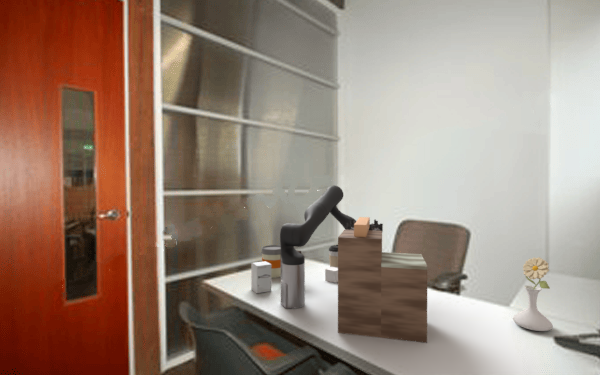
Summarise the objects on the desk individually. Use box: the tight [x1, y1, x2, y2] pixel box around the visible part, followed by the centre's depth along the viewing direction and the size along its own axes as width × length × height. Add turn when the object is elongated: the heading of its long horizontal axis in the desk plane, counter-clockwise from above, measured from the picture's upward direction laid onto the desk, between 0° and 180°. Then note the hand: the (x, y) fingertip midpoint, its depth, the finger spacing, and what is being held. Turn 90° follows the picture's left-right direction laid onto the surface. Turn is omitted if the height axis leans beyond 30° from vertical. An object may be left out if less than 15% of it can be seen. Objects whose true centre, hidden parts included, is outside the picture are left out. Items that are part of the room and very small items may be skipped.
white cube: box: [324, 266, 338, 284], centre depth 171 cm, size 6×6×6 cm
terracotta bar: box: [354, 216, 371, 237], centre depth 124 cm, size 24×4×4 cm, turn 166°
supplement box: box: [250, 261, 272, 294], centre depth 155 cm, size 7×7×13 cm
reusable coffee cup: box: [261, 244, 281, 279], centre depth 180 cm, size 13×13×15 cm
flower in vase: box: [512, 256, 554, 332], centre depth 115 cm, size 13×11×25 cm
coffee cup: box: [328, 244, 338, 268], centre depth 185 cm, size 9×9×15 cm
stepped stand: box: [337, 229, 428, 344], centre depth 117 cm, size 18×28×32 cm, turn 76°
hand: (363, 221), depth 132 cm, fingers open, 8 cm apart
